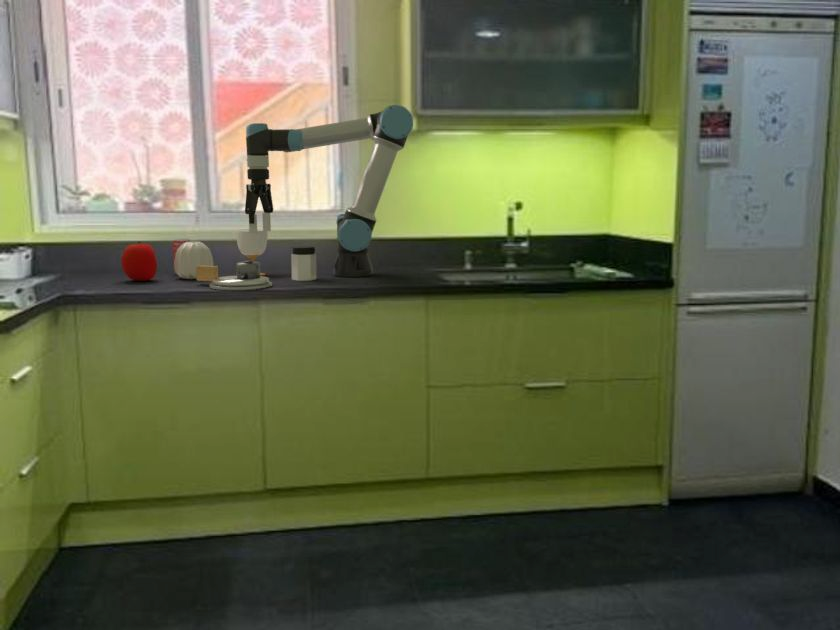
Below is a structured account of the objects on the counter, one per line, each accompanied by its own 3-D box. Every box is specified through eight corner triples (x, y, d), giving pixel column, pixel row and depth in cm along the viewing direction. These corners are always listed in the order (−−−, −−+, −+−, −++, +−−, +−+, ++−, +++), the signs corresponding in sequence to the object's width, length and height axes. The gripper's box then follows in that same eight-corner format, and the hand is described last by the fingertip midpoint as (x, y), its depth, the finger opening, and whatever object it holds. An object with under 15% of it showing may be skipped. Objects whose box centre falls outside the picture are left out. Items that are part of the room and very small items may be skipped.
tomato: (164, 279, 299) (162, 240, 297) (146, 283, 288) (144, 243, 286) (134, 278, 302) (132, 239, 300) (115, 282, 292) (113, 242, 289)
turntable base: (282, 283, 289) (282, 280, 289) (253, 291, 270) (253, 288, 269) (229, 281, 295) (229, 278, 295) (197, 289, 276) (197, 286, 275)
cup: (251, 272, 321) (249, 228, 318) (275, 274, 315) (273, 229, 312) (231, 275, 311) (229, 230, 308) (255, 277, 305) (253, 231, 302)
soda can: (194, 274, 314) (193, 240, 312) (175, 275, 312) (173, 240, 309) (192, 272, 321) (191, 238, 318) (173, 273, 318) (171, 239, 316)
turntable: (278, 280, 288) (278, 265, 288) (252, 287, 271) (251, 271, 270) (213, 277, 296) (212, 262, 295) (183, 284, 278) (182, 268, 277)
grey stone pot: (264, 276, 290) (263, 260, 289) (253, 279, 282) (252, 262, 281) (244, 275, 292) (243, 259, 291) (232, 278, 285) (232, 261, 284)
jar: (320, 279, 300) (319, 246, 297) (301, 281, 294) (300, 248, 292) (307, 277, 306) (306, 245, 304) (288, 279, 301) (287, 246, 299)
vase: (202, 281, 295) (201, 244, 293) (167, 280, 298) (166, 243, 296) (220, 276, 308) (219, 240, 306) (186, 275, 312) (185, 239, 309)
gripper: (263, 168, 301) (265, 229, 305) (232, 168, 280) (235, 234, 284) (281, 168, 299) (283, 230, 303) (252, 168, 278) (254, 234, 282)
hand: (260, 231), depth 294 cm, fingers open, 9 cm apart
